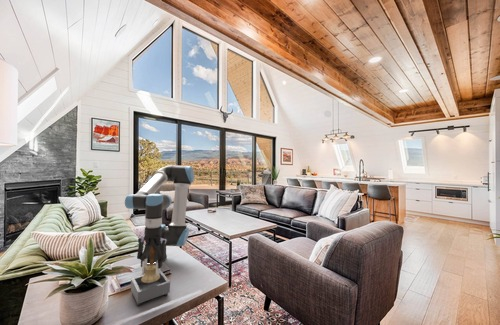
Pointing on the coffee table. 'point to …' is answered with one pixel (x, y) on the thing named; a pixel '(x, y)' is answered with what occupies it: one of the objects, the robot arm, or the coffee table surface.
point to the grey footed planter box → (149, 288)
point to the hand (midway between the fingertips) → (150, 273)
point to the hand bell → (150, 269)
